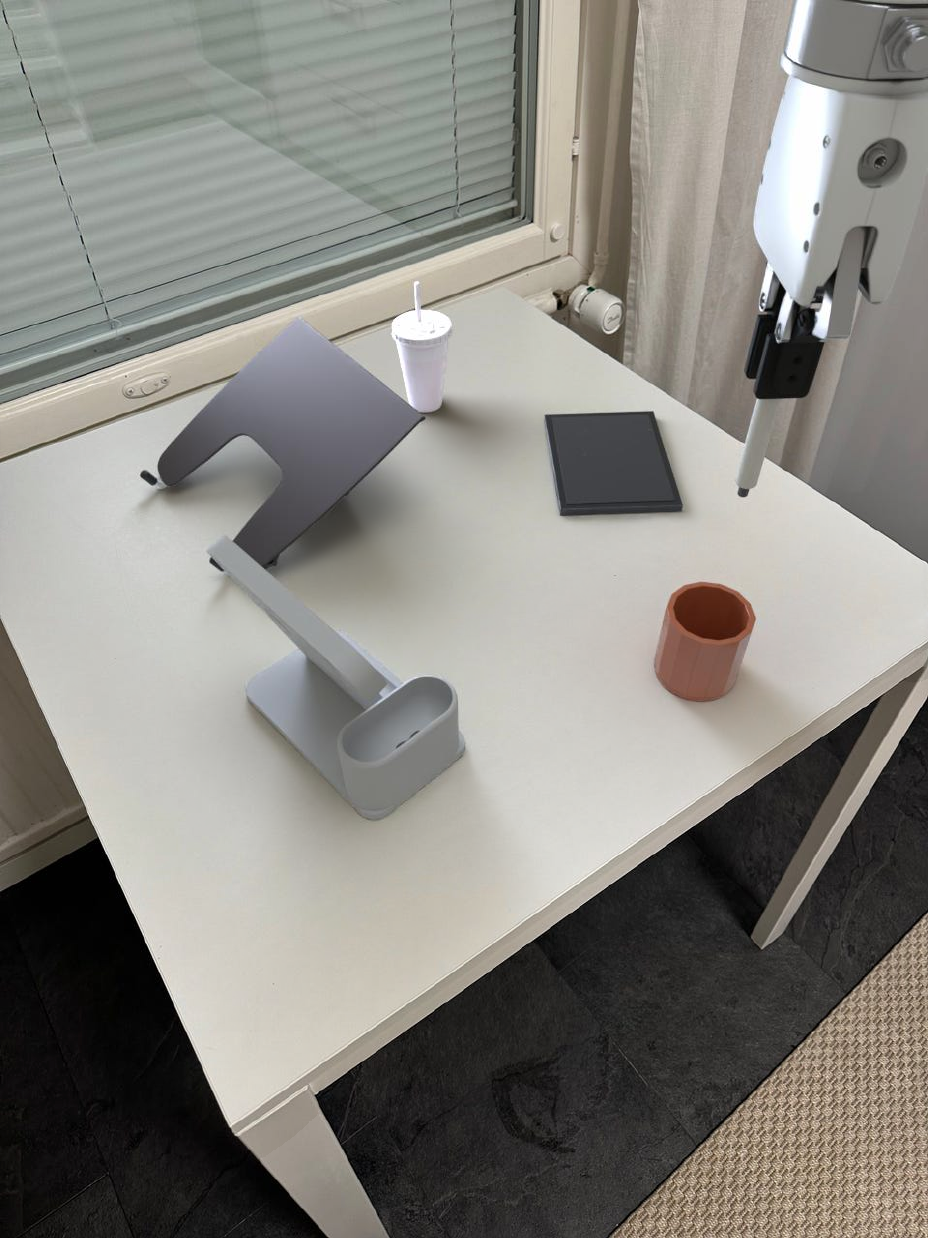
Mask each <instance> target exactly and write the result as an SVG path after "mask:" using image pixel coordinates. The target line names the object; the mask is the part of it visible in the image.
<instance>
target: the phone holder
mask: <svg viewBox="0 0 928 1238" xmlns="http://www.w3.org/2000/svg"><path fill="white" fill-rule="evenodd" d="M206 553H207V554H208V555H209V556H210V558H211V557H212V558H213V559H214V560H215V561H216V562H217V563H218V564H219V565H220V566H221V568H222V569H223V570H224V571H225V572H226V573H227V574H226V575H228V576H229V577H230V578H231V579H232V580H233V581H234V583H235V584H236V585H238V587H239V588H240V589H241V590H242V591H243V592H244V593H245V594H246V595H247V596H248V597H249V598H250V599H251V600H252V602H254V604H255V605H256V606H258V608H260V609H261V611H263V613H264V614H265V615H266V616H267V617H268V618H269V619H270V620H271V621H272V622H273V623H274V624H275V625H276V626H277V628H279V630H280V631H281V632H282V633H283V634H284V635H285V636H286V637H287V638H288V639H289V640H290V641H291V642H292V643H293V644H294V645H295V646H296V647H297V649H295V650H294V651H292V652H291V653H289V654H288V655H286V656H285V657H283V658H282V659H280V660H278V661H277V662H275V663H274V664H272V665H271V666H269V667H268V668H266V669H264V670H263V671H261V672H260V673H258V674H257V675H255V676H253V677H252V678H250V679H249V681H248V682H247V684H246V686H245V694H246V697H247V700H248V702H249V703H250V704H251V705H252V706H253V707H254V708H255V709H256V710H257V711H258V712H259V713H260V714H261V715H262V716H263V717H264V718H265V719H266V720H267V721H268V722H269V723H270V724H271V725H272V726H273V727H274V728H275V729H276V730H277V731H278V733H280V734H281V736H283V737H284V738H285V739H286V740H287V742H288V743H290V744H291V745H292V747H293V748H295V750H297V752H299V754H300V755H302V757H303V758H304V759H305V760H306V761H307V762H308V763H309V764H310V765H311V766H312V767H313V768H314V769H315V770H316V771H317V772H318V773H319V774H320V775H321V776H322V777H323V778H324V779H325V781H327V782H328V783H329V784H330V785H331V786H332V787H333V788H334V789H335V790H336V791H337V793H338V794H340V795H341V797H343V798H344V799H345V800H346V801H347V803H348V804H349V805H350V806H351V807H352V808H353V809H355V810H356V812H357V813H358V814H359V815H361V816H362V817H363V818H364V819H367V820H370V821H371V820H372V821H378V820H381V819H385V818H386V817H388V816H389V815H390V814H392V813H393V812H394V811H395V810H396V809H398V808H399V807H401V806H402V805H403V804H405V802H406V801H408V800H409V799H411V798H412V797H413V796H414V795H415V794H417V793H418V792H419V791H420V790H422V789H423V788H424V787H426V786H427V785H428V784H429V783H430V782H432V781H433V780H434V779H435V778H437V777H438V776H439V775H441V774H442V773H443V772H444V771H446V770H447V769H448V768H449V767H451V766H452V765H453V764H454V763H456V762H457V761H458V760H459V759H460V758H462V756H463V755H464V753H465V751H466V739H465V737H464V734H463V733H462V732H461V731H460V729H459V699H458V698H459V697H458V693H457V690H456V688H455V687H454V686H453V684H452V683H451V682H450V681H448V680H447V679H446V678H444V677H440V676H438V675H434V674H421V675H417V676H414V677H411V678H410V679H407V680H406V681H405V682H403V680H401V679H400V678H399V677H398V676H397V675H395V674H394V673H393V672H392V671H391V670H389V668H387V667H386V666H385V665H384V664H383V663H382V662H381V661H379V660H378V659H377V658H376V657H375V656H373V654H371V653H370V652H368V650H366V649H365V648H364V647H363V646H362V645H361V644H360V643H359V642H357V641H356V640H355V639H354V638H353V637H351V636H350V635H349V634H348V633H347V632H346V631H344V630H341V629H334V628H333V627H331V626H330V625H329V624H328V623H327V622H326V621H324V620H323V619H322V618H321V617H320V616H319V615H318V614H316V613H315V611H313V610H312V609H311V608H310V607H308V606H307V605H306V603H304V602H303V601H302V600H301V599H299V598H298V597H297V596H296V595H295V594H294V593H293V592H291V591H290V590H289V589H288V588H287V587H286V586H285V585H283V584H282V583H281V582H280V581H279V580H278V579H277V578H275V577H274V576H273V575H272V574H271V573H270V572H268V571H267V569H266V570H265V569H264V568H263V567H261V566H260V565H259V564H258V563H257V562H256V561H255V560H253V559H252V558H251V557H250V556H249V555H248V554H247V553H245V552H244V551H243V550H242V549H241V548H240V547H239V546H237V545H236V544H235V543H234V542H233V540H232V539H231V538H229V537H228V536H227V535H226V534H225V533H223V534H221V536H219V538H217V540H216V541H215V542H214V543H212V545H210V546H209V547H208V548H207V549H206Z"/></svg>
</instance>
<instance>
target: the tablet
mask: <svg viewBox="0 0 928 1238" xmlns="http://www.w3.org/2000/svg"><path fill="white" fill-rule="evenodd" d="M657 421H658V420H657V417H656V415H655V412H654V410H650V411H649V410H646V411H617V412H616V411H613V412H612V411H611V412H581V413H579V412H578V413H551V414H549V413H547V414H544V416H543V422H544V428H545V434H546V441H547V446H548V452H549V457H550V458H549V459H550V464H551V471H552V475H553V477H552V478H553V482H554V488H555V494H556V500H557V506H558V511H559V512H558V513H559V516H578V515H579V516H580V515H581V516H582V515H605V514H606V515H609V514H612V515H613V514H614V515H615V514H642V513H644V514H645V513H671V512H672V513H673V512H674V513H675V512H682V511H683V508H684V503H683V500H682V497H681V495H680V492H679V488H678V484H677V482H676V478H675V476H674V473H673V469H672V465H671V463H670V459H669V456H668V452H667V450H666V447H665V443H664V440H663V437H662V434H661V431H660V427H659V424H658V422H657Z"/></svg>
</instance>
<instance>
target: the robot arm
mask: <svg viewBox="0 0 928 1238" xmlns="http://www.w3.org/2000/svg"><path fill="white" fill-rule="evenodd" d="M791 7H792V8H791V12H790V17H789V21H788V26H787V31H786V34H785V40H784V44H783V48H782V53H781V59H780V63H779V64H780V67H781V69H783V71H784V72H785V73H786V74H787V75H788V77H787V79H786V83H785V86H784V90H783V92H782V96H781V100H780V104H779V106H778V110H777V114H776V117H775V121H774V125H773V128H772V132H771V136H770V140H769V144H768V147H767V152H766V155H765V160H764V163H763V168H762V172H761V177H760V181H759V185H758V191H757V194H756V195H757V196H756V200H755V205H754V213H753V223H752V224H753V225H752V226H753V232H754V236H755V239H756V240H757V241H756V242H757V243H758V245H759V247H760V249H761V251H762V253H763V255H764V256H765V258H766V260H767V261H765V272H764V277H763V280H762V285H761V289H760V293H759V294H760V295H759V298H758V309H759V312H760V313H761V314H757V315H756V320H755V322H754V323H755V325H754V327H753V331H752V336H751V340H750V344H749V348H748V352H747V356H746V360H745V364H744V368H743V372H744V374H745V377H746V379H749V380H755V381H754V384H753V388H752V391H753V394H754V396H755V398H756V400H757V399H781V400H783V399H786V400H787V399H788V400H789V399H803V398H805V397H807V396H808V395H809V393H810V392H811V388H812V386H813V385H812V384H813V381H814V379H815V375H816V372H817V369H818V366H819V362H820V359H821V356H822V352H823V351H824V350H823V349H824V346H825V343H828V342H829V341H830V340H847V339H848V338H849V337H850V335H851V332H852V327H853V321H854V315H855V309H856V303H857V297H858V291H859V292H860V294H862V296H863V297H864V299H866V300H867V302H869V303H870V304H871V305H882V304H884V303H885V302H886V301H887V300H888V299H889V297H890V296H891V293H892V291H893V288H894V286H895V283H896V280H897V277H898V275H899V272H900V269H901V266H902V262H903V260H904V256H905V253H906V250H907V247H908V243H909V240H910V237H911V234H912V230H913V227H914V223H915V222H916V221H915V220H916V217H917V214H918V210H919V206H920V203H921V200H922V196H923V192H924V189H925V185H926V181H927V177H928V0H793V1H792V6H791ZM784 296H785V297H784ZM783 298H784V301H783ZM782 302H783V304H782ZM813 304H821V306H820V307H814V308H813V307H812V306H813ZM781 306H782V308H781ZM801 306H808V308H805V309H803V310H802V311H801V312H799V310H800V307H801ZM780 310H781V311H780ZM763 313H764V314H763ZM779 313H780V315H779ZM778 317H779V318H778ZM777 321H778V322H777ZM774 332H775V334H774Z"/></svg>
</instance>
